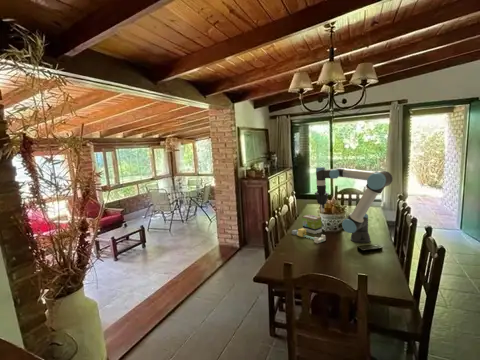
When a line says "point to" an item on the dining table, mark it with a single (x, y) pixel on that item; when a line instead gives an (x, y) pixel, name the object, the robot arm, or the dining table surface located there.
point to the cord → (309, 237)
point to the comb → (319, 239)
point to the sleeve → (301, 232)
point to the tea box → (312, 224)
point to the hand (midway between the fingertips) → (322, 211)
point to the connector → (294, 232)
